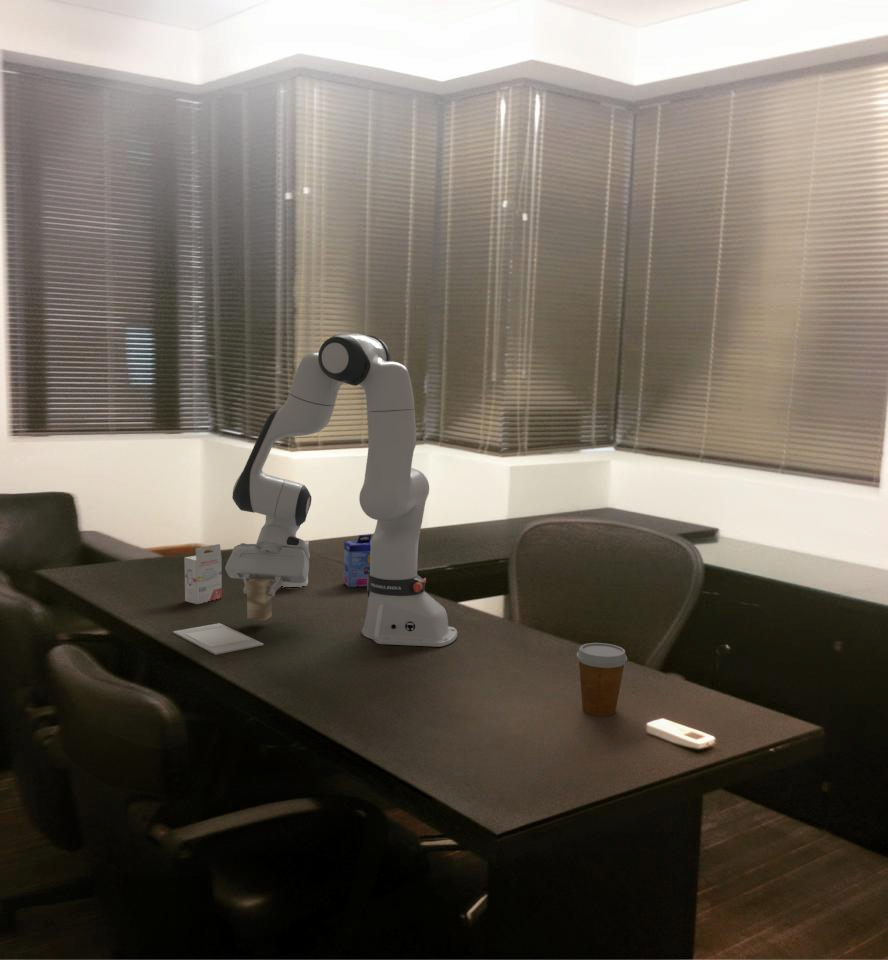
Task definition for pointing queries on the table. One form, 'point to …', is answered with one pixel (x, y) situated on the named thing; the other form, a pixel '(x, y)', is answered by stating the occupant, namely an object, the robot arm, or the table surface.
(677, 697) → the table surface
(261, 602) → the wooden block
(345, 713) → the table surface
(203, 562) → the ink cartridge box
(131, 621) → the table surface
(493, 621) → the table surface
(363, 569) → the ink cartridge box
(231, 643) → the grey mat
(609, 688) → the disposable coffee cup
